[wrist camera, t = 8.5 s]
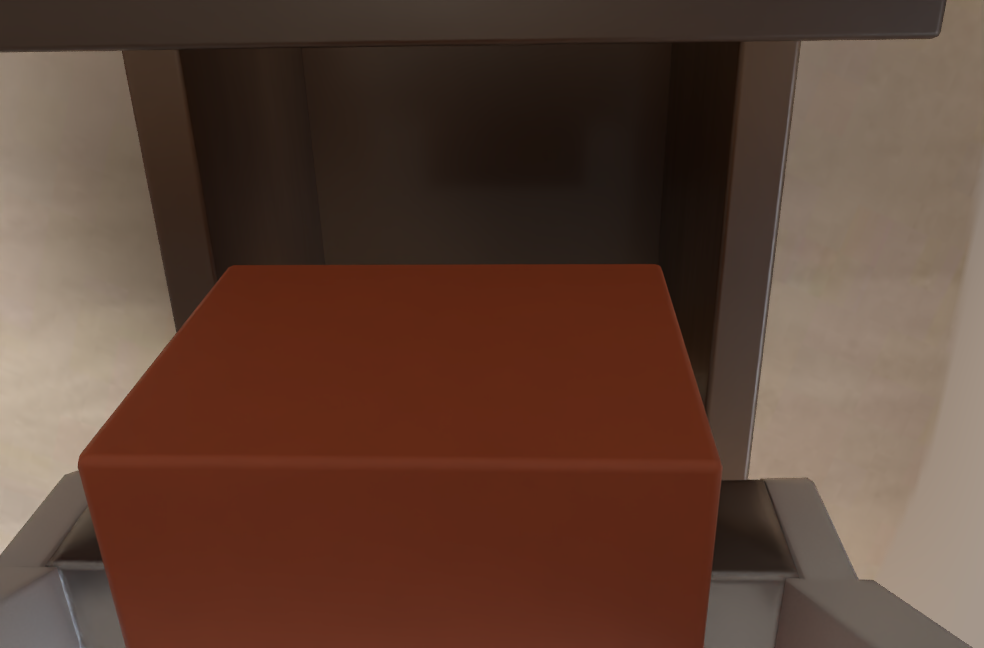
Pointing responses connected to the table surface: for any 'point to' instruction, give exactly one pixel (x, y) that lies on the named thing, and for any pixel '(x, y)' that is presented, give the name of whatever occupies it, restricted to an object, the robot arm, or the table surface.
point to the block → (413, 464)
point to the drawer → (486, 173)
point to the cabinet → (447, 22)
